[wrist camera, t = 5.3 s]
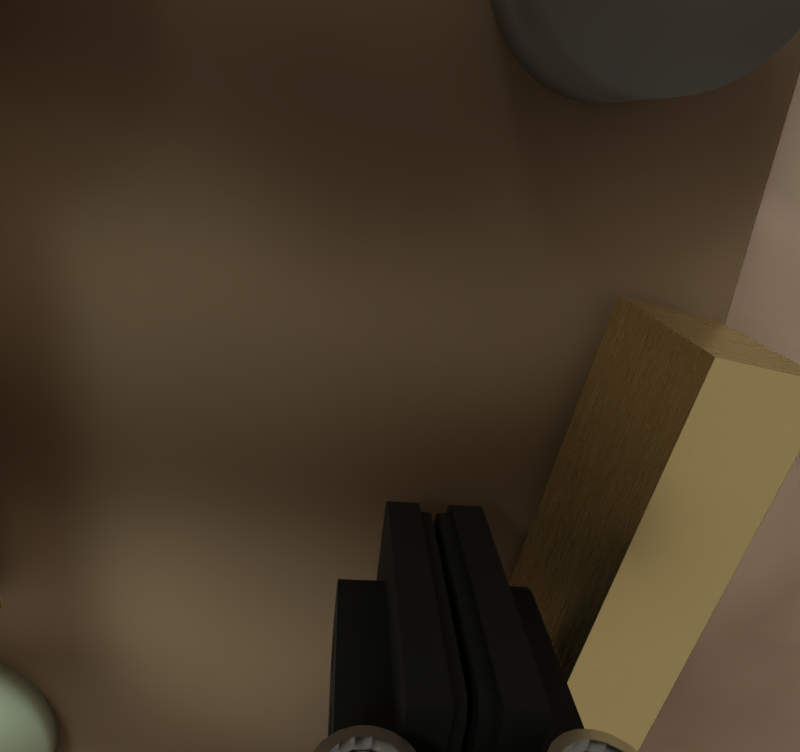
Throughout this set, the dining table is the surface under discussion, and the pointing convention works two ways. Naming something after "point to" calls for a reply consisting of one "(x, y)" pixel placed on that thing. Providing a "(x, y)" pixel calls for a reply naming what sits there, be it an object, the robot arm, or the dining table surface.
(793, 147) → the dining table surface
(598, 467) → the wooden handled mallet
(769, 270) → the dining table surface
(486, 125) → the base plate
